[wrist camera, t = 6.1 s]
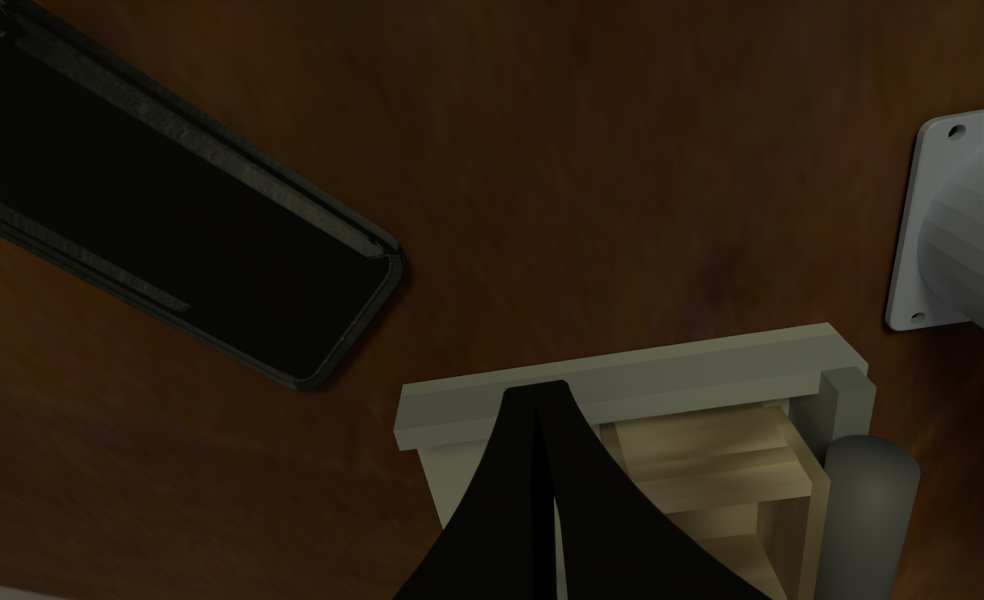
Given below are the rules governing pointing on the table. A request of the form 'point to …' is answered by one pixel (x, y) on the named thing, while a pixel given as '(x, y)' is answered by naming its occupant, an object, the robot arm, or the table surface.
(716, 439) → the crate
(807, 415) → the bay
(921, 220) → the robot arm
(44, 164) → the phone
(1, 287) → the table surface
